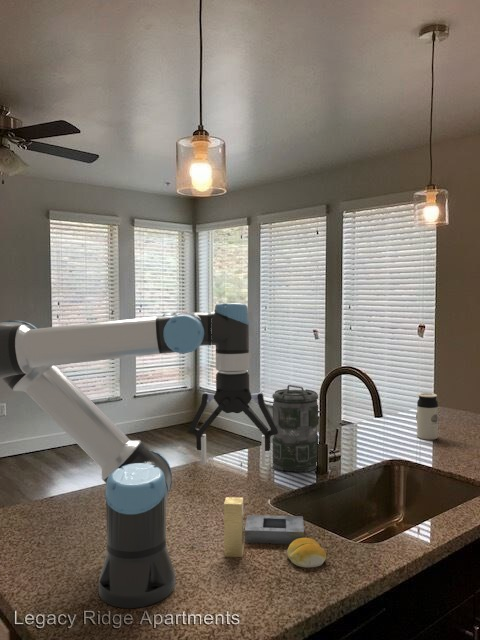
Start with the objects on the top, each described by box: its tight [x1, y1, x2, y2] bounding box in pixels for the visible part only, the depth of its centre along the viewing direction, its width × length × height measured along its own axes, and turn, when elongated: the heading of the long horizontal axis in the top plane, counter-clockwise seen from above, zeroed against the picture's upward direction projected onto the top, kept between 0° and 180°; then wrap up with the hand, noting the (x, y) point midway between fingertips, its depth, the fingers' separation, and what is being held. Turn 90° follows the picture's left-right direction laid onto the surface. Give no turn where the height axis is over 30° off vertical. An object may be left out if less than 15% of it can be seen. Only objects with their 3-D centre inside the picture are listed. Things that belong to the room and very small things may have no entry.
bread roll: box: [286, 537, 327, 568], centre depth 118 cm, size 8×9×4 cm
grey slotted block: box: [244, 514, 305, 545], centre depth 130 cm, size 9×14×3 cm, turn 85°
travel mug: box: [416, 392, 439, 441], centre depth 219 cm, size 8×8×18 cm
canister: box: [271, 384, 319, 473], centre depth 183 cm, size 16×16×28 cm
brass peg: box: [223, 496, 245, 558], centre depth 121 cm, size 4×4×12 cm
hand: (233, 464), depth 120 cm, fingers open, 13 cm apart
